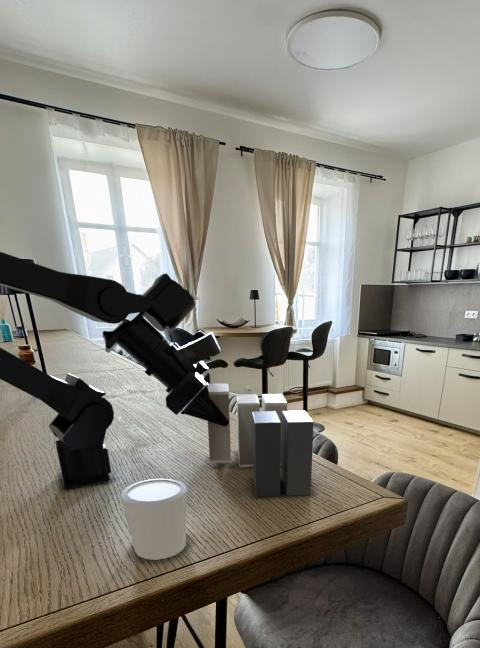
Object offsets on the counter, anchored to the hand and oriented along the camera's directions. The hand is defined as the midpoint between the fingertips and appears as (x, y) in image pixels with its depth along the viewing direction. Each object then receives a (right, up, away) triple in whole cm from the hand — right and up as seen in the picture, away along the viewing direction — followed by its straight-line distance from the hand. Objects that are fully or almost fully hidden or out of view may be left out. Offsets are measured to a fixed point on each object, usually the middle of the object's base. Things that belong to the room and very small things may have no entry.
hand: (227, 418), depth 70 cm
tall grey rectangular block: (+7, -11, -8) cm, 15 cm away
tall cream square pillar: (-1, -6, +2) cm, 7 cm away
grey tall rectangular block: (+3, -7, +3) cm, 8 cm away
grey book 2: (+11, -11, -7) cm, 18 cm away
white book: (+8, -7, +4) cm, 11 cm away
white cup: (-5, -17, -23) cm, 29 cm away
